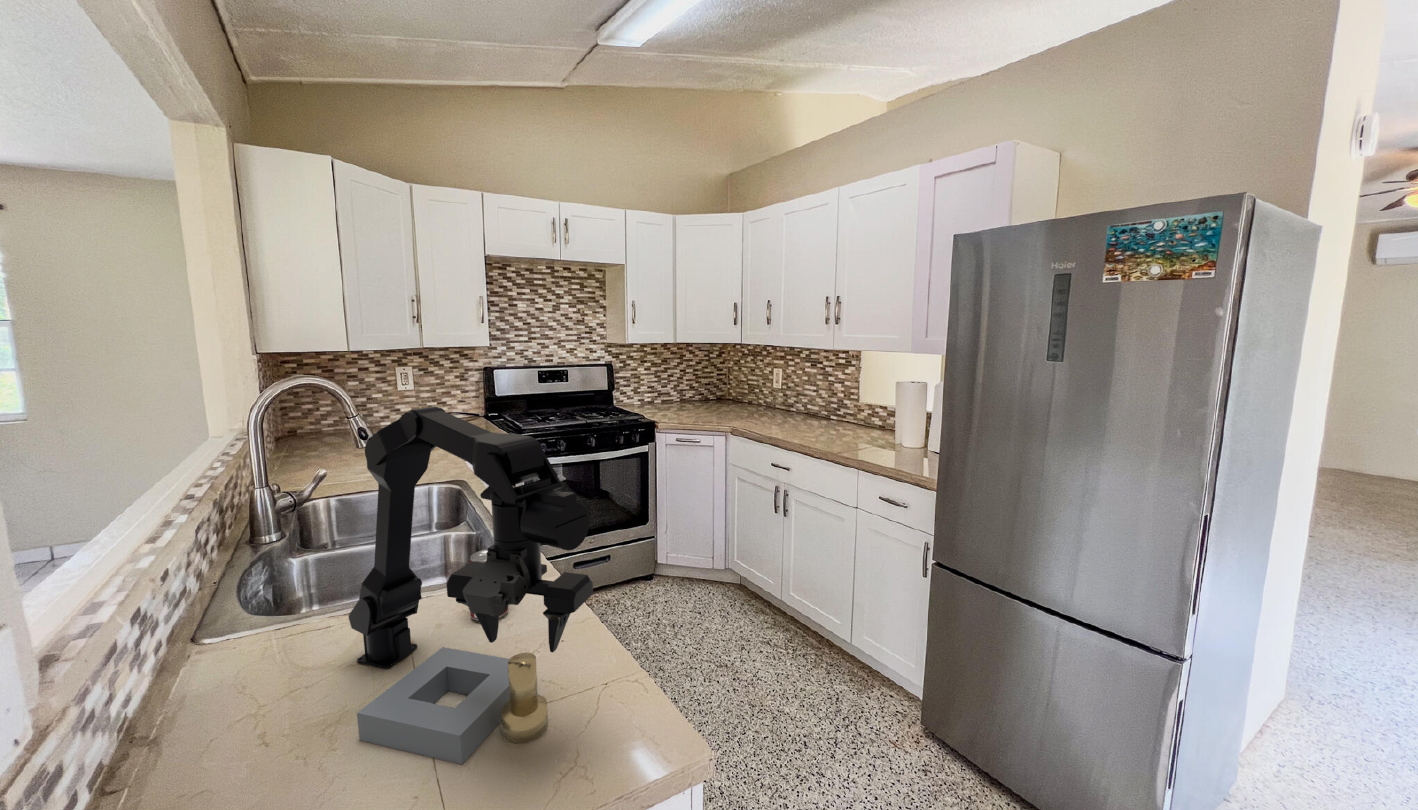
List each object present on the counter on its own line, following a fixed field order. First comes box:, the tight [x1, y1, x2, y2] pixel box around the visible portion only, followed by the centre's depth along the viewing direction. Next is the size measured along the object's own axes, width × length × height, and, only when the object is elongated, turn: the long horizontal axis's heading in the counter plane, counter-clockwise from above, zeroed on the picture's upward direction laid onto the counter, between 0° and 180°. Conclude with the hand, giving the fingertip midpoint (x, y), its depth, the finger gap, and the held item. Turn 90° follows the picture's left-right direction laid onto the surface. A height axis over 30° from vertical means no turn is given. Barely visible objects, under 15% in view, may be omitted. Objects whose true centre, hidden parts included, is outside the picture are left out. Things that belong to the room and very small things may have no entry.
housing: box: [356, 646, 510, 765], centre depth 81 cm, size 16×16×4 cm
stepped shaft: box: [501, 652, 549, 745], centre depth 78 cm, size 6×6×10 cm
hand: (522, 645), depth 76 cm, fingers open, 9 cm apart
